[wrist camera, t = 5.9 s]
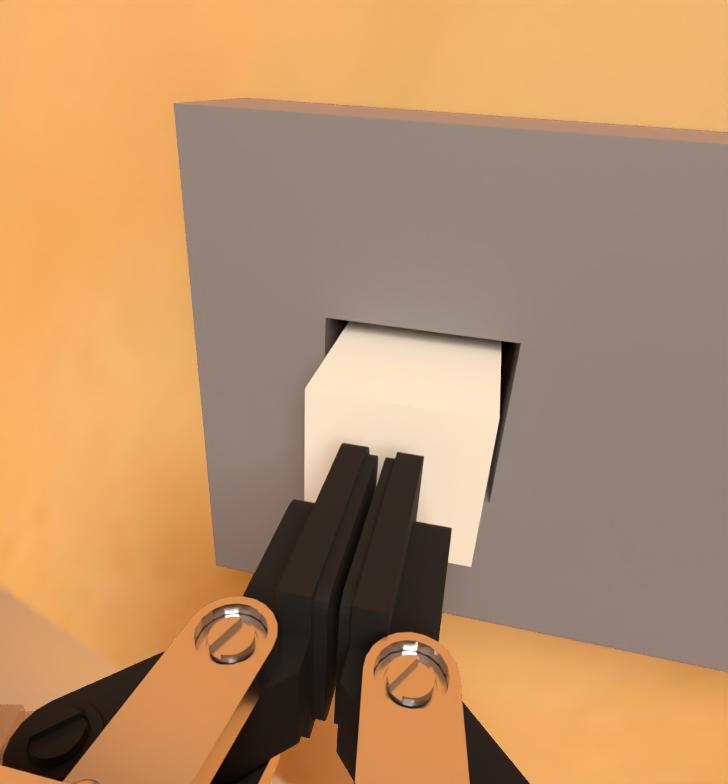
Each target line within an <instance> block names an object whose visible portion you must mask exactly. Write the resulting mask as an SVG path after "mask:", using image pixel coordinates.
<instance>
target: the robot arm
mask: <svg viewBox="0 0 728 784" xmlns="http://www.w3.org/2000/svg"><path fill="white" fill-rule="evenodd" d="M369 453H370V451H369V447H366V446H359V445H353V444H347V443H342V444H341V446H340V448H339V450H338V453H337V455H336V457H335V459H334V462H333V464H332V466H331V468H330V470H329V473H328V475H327V477H326V479H325V482H324V484H323V486H322V488H321V491H320V493H319V495H318V497H317V499H316V502H315V503H313V502H307V501H302V500H296V499H294V500H292V501H291V503H290V504H289V506H288V508H287V510H286V512H285V514H284V516H283V518H282V520H281V522H280V524H279V526H278V528H277V530H276V531H275V533H274V535H273V537H272V539H271V541H270V543H269V545H268V547H267V549H266V551H265V553H264V555H263V557H262V559H261V561H260V563H259V565H258V567H257V569H256V571H255V573H254V575H253V577H252V579H251V581H250V583H249V585H248V587H247V589H246V591H245V593H244V595H243V596H237V597H226V598H223V599H219V600H216V601H213V602H212V603H210V604H208V605H206V606H205V607H203V608H201V609H200V610H199V611H198V612H197V613H196V614H195V615H194V616H193V617H192V618H191V619H190V621H189V622H188V623H187V625H186V626H185V627H184V628H183V630H182V631H181V632H180V633H179V635H178V636H177V637H176V639H175V640H174V641H173V642H172V644H171V645H170V646H169V647H168V649H167V650H166V651H164V652H162V653H160V654H157V655H155V656H153V657H151V658H148V659H146V660H144V661H142V662H139V663H137V664H135V665H132V666H130V667H128V668H126V669H123V670H121V671H119V672H117V673H114V674H112V675H110V676H108V677H105V678H103V679H101V680H99V681H96V682H94V683H92V684H90V685H87V686H85V687H83V688H80V689H78V690H76V691H74V692H71V693H69V694H67V695H64V696H62V697H60V698H58V699H55V700H53V701H51V702H49V703H48V704H46V705H44V706H43V707H41V708H39V709H37V710H36V711H30V712H29V711H27V712H26V711H25V709H24V706H23V705H0V784H269V783H270V781H271V779H272V777H273V774H274V772H275V770H276V768H277V765H278V762H279V759H280V756H281V753H282V752H284V751H285V750H287V749H289V748H290V747H292V746H294V745H296V744H297V743H299V741H300V738H301V736H302V737H306V738H310V735H311V732H312V728H313V725H314V721H315V719H318V720H322V721H325V720H326V718H327V715H328V712H329V709H330V705H331V701H332V698H333V694H334V691H335V687H336V692H335V713H334V723H335V724H338V734H337V753H338V755H339V757H340V759H341V760H342V762H343V764H344V765H345V767H346V769H347V770H348V772H349V774H350V776H351V777H352V779H353V781H354V784H530V783H529V782H528V781H527V780H526V779H525V777H524V776H523V775H522V774H521V772H520V771H519V770H518V769H517V768H516V766H515V765H514V764H513V763H512V761H511V760H510V759H509V758H508V757H507V755H506V754H505V753H504V752H503V750H502V749H501V748H500V747H499V746H498V744H497V743H496V742H495V741H494V739H493V738H492V737H491V736H490V735H489V733H488V732H487V731H486V730H485V728H484V727H483V726H482V725H481V724H480V722H479V721H478V720H477V719H476V718H475V716H474V715H473V714H472V713H471V711H470V710H469V709H468V708H467V707H466V705H465V704H464V703H463V702H462V693H461V682H460V675H459V671H458V667H457V664H456V662H455V660H454V659H453V657H452V656H451V654H450V653H449V651H448V650H447V649H445V648H444V647H443V646H442V645H441V644H440V643H439V642H438V641H439V633H440V624H441V616H442V608H443V599H444V591H445V583H446V574H447V566H448V557H449V549H450V541H451V532H452V528H450V527H444V526H439V525H433V524H428V523H422V522H417V521H416V519H417V511H418V503H419V495H420V487H421V479H422V471H423V463H424V456H420V455H414V454H408V453H402V452H397V454H396V457H395V458H388V457H386V458H385V461H384V464H383V467H382V470H381V473H380V476H379V480H378V483H377V470H378V456H376V455H370V454H369ZM376 483H377V486H376Z"/></svg>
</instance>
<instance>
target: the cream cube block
mask: <svg viewBox="0 0 728 784" xmlns="http://www.w3.org/2000/svg"><path fill="white" fill-rule="evenodd" d="M501 346H502V341H499V340H491V339H484V338H476V337H468V336H461V335H453V334H446V333H438V332H431V331H423V330H415V329H408V328H400V327H393V326H385V325H378V324H370V323H362V322H355V321H349V322H348V324H347V325H346V327H345V328H344V330H343V331H342V333H341V334H340V336H339V338H338V339H337V341H336V342H335V344H334V345H333V347H332V348H331V350H330V351H329V353H328V354H327V356H326V357H325V359H324V360H323V362H322V363H321V365H320V366H319V368H318V369H317V371H316V373H315V374H314V376H313V377H312V379H311V380H310V382H309V383H308V385H307V386H306V388H305V460H304V501H307V502H313V503H315V502H316V499H317V497H318V495H319V493H320V491H321V488H322V486H323V484H324V482H325V479H326V477H327V475H328V473H329V470H330V468H331V466H332V464H333V462H334V459H335V457H336V455H337V453H338V450H339V448H340V446H341V444H342V443H347V444H353V445H359V446H366V447H369V451H370V453H369V454H370V455H376V456H378V470H377V483H378V480H379V476H380V473H381V470H382V467H383V464H384V461H385V458H386V457H388V458H395V457H396V454H397V452H402V453H408V454H414V455H420V456H424V463H423V471H422V479H421V487H420V495H419V503H418V511H417V519H416V521H417V522H422V523H428V524H433V525H439V526H444V527H450V528H452V532H451V541H450V549H449V557H448V563H453V564H458V565H463V566H468V567H471V565H472V559H473V554H474V549H475V544H476V538H477V533H478V528H479V523H480V518H481V512H482V507H483V502H484V497H485V492H486V486H487V481H488V476H489V471H490V466H491V460H492V455H493V450H494V445H495V439H496V434H497V429H498V424H499V419H500V383H501ZM377 483H376V486H377Z"/></svg>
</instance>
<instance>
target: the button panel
mask: <svg viewBox="0 0 728 784" xmlns="http://www.w3.org/2000/svg"><path fill="white" fill-rule="evenodd" d="M174 112H175V123H176V134H177V145H178V155H179V166H180V177H181V188H182V199H183V210H184V220H185V231H186V242H187V253H188V264H189V275H190V285H191V296H192V307H193V318H194V329H195V339H196V350H197V361H198V372H199V383H200V394H201V404H202V415H203V426H204V437H205V448H206V459H207V469H208V480H209V491H210V502H211V513H212V523H213V534H214V545H215V556H216V565H217V566H222V567H227V568H232V569H236V570H241V571H246V572H251V573H255V571H256V569H257V567H258V565H259V563H260V561H261V559H262V557H263V555H264V553H265V551H266V549H267V547H268V545H269V543H270V541H271V539H272V537H273V535H274V533H275V531H276V530H277V528H278V526H279V524H280V522H281V520H282V518H283V516H284V514H285V512H286V510H287V508H288V506H289V504H290V503H291V501H292V500H294V499H296V500H302V501H304V460H305V388H306V386H307V385H308V383H309V382H310V380H311V379H312V377H313V376H314V374H315V373H316V371H317V369H318V368H319V366H320V365H321V363H322V362H323V360H324V359H325V357H326V356H327V354H328V353H329V351H330V350H331V348H332V347H333V345H334V344H335V342H336V341H337V339H338V338H339V336H340V334H341V333H342V331H343V330H344V328H345V327H346V325H347V324H348V322H349V321H355V322H362V323H370V324H378V325H385V326H393V327H400V328H408V329H415V330H423V331H431V332H438V333H446V334H453V335H461V336H468V337H476V338H484V339H491V340H499V341H506V342H509V345H508V351H507V356H506V361H505V367H504V372H503V377H502V383H501V388H500V419H499V424H498V429H497V434H496V439H495V445H494V450H493V455H492V460H491V466H490V471H489V476H488V481H487V486H486V492H485V497H484V502H483V507H482V512H481V518H480V523H479V528H478V533H477V538H476V544H475V549H474V554H473V559H472V565H471V567H468V566H463V565H458V564H453V563H448V566H447V574H446V583H445V591H444V599H443V608H442V613H447V614H452V615H456V616H461V617H466V618H471V619H476V620H480V621H485V622H490V623H495V624H499V625H504V626H509V627H514V628H519V629H523V630H528V631H533V632H538V633H542V634H547V635H552V636H557V637H562V638H566V639H571V640H576V641H581V642H586V643H590V644H595V645H600V646H605V647H609V648H614V649H619V650H624V651H629V652H633V653H638V654H643V655H648V656H653V657H657V658H662V659H667V660H672V661H676V662H681V663H686V664H691V665H696V666H700V667H705V668H710V669H715V670H719V671H724V672H728V132H714V131H700V130H686V129H672V128H658V127H644V126H630V125H616V124H602V123H587V122H573V121H559V120H545V119H531V118H517V117H503V116H489V115H475V114H461V113H447V112H432V111H418V110H404V109H390V108H376V107H362V106H348V105H334V104H320V103H306V102H291V101H277V100H263V99H249V98H238V99H225V100H211V101H198V102H184V103H174Z"/></svg>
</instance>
